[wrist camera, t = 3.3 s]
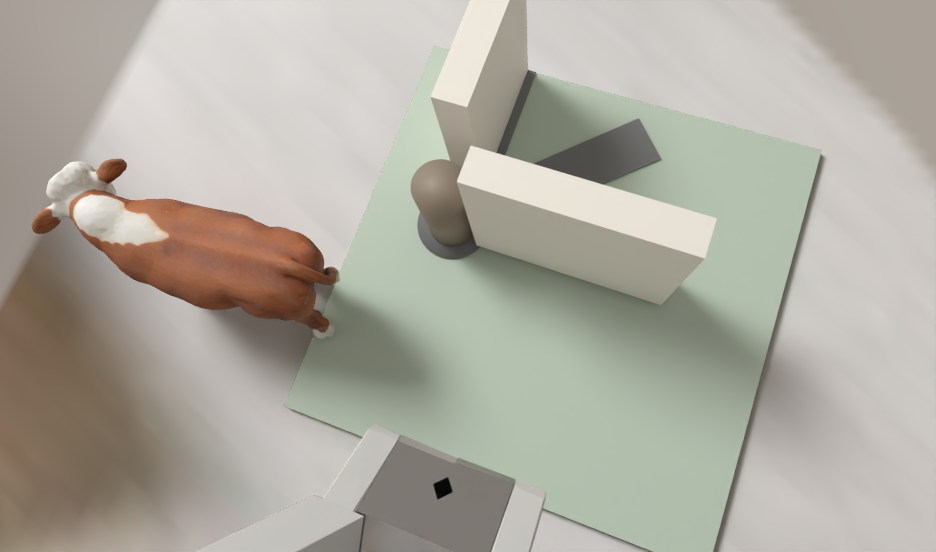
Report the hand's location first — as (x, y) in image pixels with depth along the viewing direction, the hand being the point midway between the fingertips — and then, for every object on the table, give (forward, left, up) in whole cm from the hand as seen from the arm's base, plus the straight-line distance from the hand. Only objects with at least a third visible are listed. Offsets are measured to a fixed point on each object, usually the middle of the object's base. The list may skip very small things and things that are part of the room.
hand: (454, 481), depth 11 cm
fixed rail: (+13, +6, -19) cm, 24 cm away
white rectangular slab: (+9, 0, -19) cm, 21 cm away
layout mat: (+8, +1, -19) cm, 21 cm away
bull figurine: (+3, +15, -19) cm, 25 cm away
